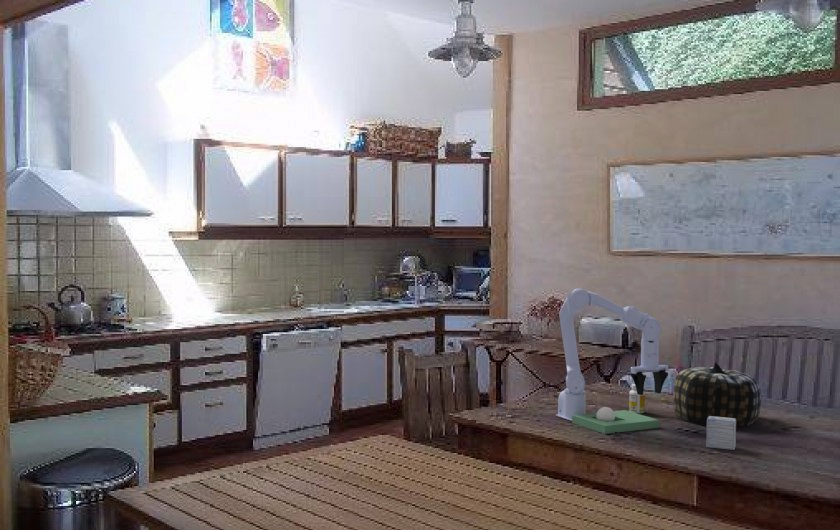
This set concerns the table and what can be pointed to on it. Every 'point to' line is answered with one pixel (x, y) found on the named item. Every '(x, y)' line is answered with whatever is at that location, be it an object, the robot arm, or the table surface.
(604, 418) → the white ball
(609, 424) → the putting board
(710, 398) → the decorative pumpkin
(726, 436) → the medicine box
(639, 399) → the supplement bottle
